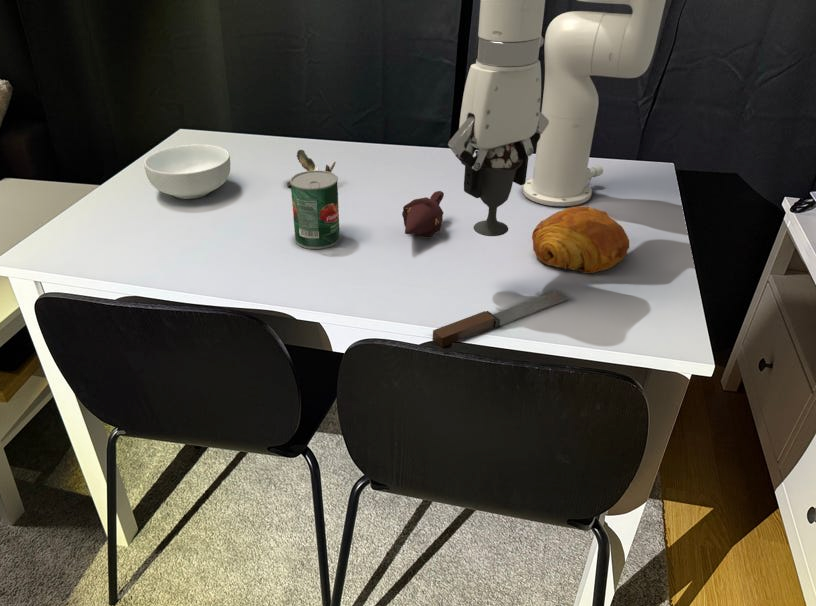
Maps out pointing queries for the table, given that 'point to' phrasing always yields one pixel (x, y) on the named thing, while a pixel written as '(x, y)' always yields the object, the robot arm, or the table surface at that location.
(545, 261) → the croissant
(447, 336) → the knife
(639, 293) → the table surface
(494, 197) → the sundae
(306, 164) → the eagle figurine
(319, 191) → the canned tomato
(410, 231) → the icecream
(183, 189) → the cereal bowl
